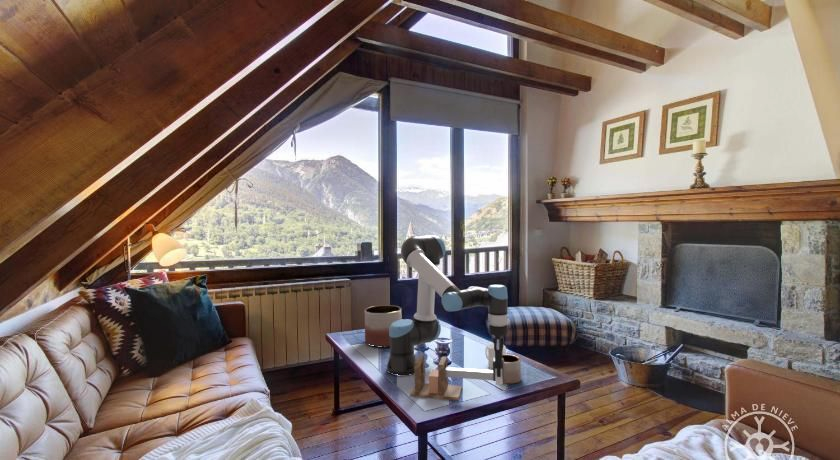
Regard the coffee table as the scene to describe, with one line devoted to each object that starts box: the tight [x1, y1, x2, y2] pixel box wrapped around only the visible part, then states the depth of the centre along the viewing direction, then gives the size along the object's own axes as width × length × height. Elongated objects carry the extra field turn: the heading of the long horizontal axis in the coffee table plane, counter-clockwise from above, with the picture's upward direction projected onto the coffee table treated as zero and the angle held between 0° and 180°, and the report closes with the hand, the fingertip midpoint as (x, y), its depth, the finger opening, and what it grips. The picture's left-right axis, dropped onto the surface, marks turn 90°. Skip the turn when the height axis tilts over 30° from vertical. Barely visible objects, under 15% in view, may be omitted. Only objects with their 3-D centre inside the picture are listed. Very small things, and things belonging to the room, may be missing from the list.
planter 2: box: [502, 353, 522, 385], centre depth 176 cm, size 11×11×10 cm
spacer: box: [428, 369, 439, 394], centre depth 165 cm, size 4×7×7 cm, turn 166°
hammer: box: [445, 358, 504, 382], centre depth 161 cm, size 24×4×8 cm, turn 76°
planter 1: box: [364, 304, 403, 348], centre depth 233 cm, size 22×22×20 cm
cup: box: [485, 343, 507, 370], centre depth 192 cm, size 8×12×10 cm
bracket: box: [409, 354, 463, 401], centre depth 165 cm, size 20×11×14 cm, turn 76°
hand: (499, 381), depth 158 cm, fingers closed on hammer, 4 cm apart
